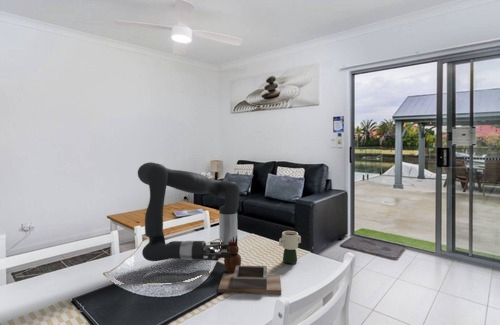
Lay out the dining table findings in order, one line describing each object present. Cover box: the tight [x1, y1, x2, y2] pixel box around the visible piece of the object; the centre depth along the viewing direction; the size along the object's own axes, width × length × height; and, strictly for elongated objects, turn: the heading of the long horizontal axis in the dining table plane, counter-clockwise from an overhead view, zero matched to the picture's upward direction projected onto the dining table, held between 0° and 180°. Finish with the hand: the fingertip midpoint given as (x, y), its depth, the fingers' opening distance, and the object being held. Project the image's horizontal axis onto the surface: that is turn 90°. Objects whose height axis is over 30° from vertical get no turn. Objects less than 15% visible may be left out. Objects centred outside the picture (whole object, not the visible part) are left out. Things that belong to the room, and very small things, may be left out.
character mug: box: [278, 230, 302, 264], centre depth 126 cm, size 11×7×13 cm, turn 113°
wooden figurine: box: [223, 236, 242, 274], centre depth 116 cm, size 7×6×15 cm
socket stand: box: [217, 265, 282, 296], centre depth 105 cm, size 12×22×5 cm, turn 86°
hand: (232, 251), depth 116 cm, fingers open, 8 cm apart
